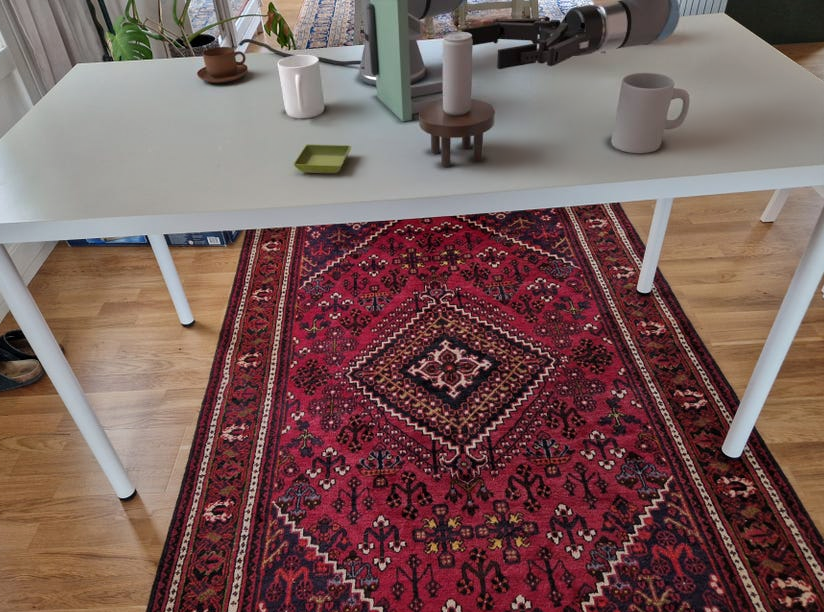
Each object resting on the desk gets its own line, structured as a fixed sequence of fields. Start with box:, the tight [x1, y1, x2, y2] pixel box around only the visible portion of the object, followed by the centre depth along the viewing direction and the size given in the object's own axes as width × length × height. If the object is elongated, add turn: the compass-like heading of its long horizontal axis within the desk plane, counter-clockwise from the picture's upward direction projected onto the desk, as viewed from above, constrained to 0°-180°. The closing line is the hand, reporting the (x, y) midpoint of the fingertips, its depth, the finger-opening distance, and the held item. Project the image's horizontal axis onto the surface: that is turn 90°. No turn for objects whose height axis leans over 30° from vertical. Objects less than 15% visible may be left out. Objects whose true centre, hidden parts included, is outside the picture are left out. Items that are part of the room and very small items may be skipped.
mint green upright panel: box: [366, 0, 443, 123], centre depth 128 cm, size 16×16×22 cm
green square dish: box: [293, 143, 352, 174], centre depth 114 cm, size 9×9×2 cm
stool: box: [418, 98, 496, 168], centre depth 112 cm, size 13×13×8 cm
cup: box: [277, 54, 325, 119], centre depth 131 cm, size 8×12×10 cm
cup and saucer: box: [196, 46, 248, 84], centre depth 153 cm, size 12×12×6 cm
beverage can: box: [442, 31, 474, 116], centre depth 106 cm, size 5×5×12 cm
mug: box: [610, 72, 691, 154], centre depth 111 cm, size 12×8×11 cm
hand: (479, 48), depth 105 cm, fingers open, 13 cm apart
